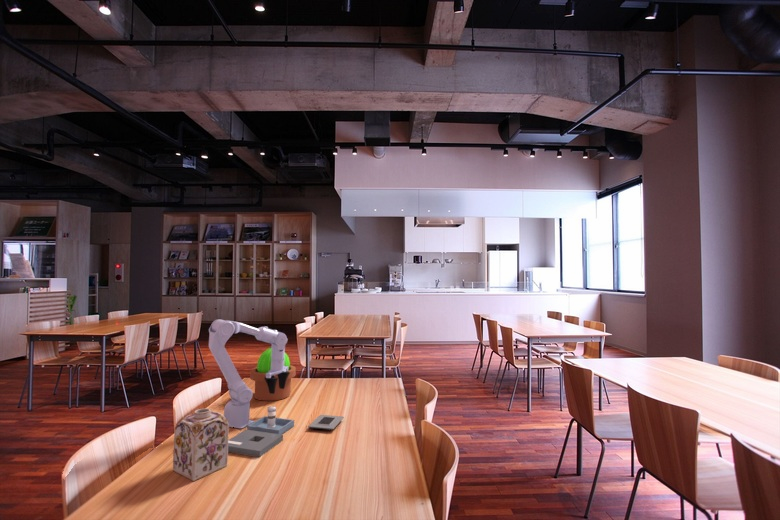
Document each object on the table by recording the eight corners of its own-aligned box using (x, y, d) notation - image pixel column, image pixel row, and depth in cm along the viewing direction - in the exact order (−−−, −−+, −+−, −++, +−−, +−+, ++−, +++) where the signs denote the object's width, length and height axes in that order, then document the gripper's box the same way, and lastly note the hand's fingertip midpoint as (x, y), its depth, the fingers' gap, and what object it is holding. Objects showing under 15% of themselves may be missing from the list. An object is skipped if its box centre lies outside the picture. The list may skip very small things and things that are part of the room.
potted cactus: (288, 403, 181) (289, 350, 182) (242, 402, 182) (244, 350, 183) (299, 389, 203) (300, 343, 204) (259, 389, 203) (260, 342, 205)
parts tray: (247, 432, 146) (247, 425, 146) (264, 422, 157) (264, 416, 157) (278, 437, 142) (278, 430, 143) (294, 426, 153) (294, 420, 153)
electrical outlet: (333, 434, 147) (333, 427, 147) (307, 431, 149) (308, 425, 149) (343, 421, 160) (343, 415, 160) (320, 419, 162) (320, 413, 162)
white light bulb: (265, 429, 149) (265, 408, 149) (270, 426, 152) (270, 405, 152) (272, 430, 148) (273, 409, 148) (277, 427, 151) (277, 406, 151)
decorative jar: (192, 482, 110) (195, 419, 111) (171, 471, 116) (173, 412, 117) (229, 465, 120) (231, 408, 121) (207, 456, 127) (209, 401, 127)
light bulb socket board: (219, 450, 131) (220, 444, 131) (246, 434, 144) (246, 428, 144) (259, 457, 126) (259, 450, 126) (282, 440, 140) (283, 434, 140)
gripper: (276, 363, 159) (275, 396, 158) (294, 357, 173) (293, 387, 172) (261, 362, 161) (261, 394, 160) (280, 355, 175) (280, 385, 174)
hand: (277, 390), depth 166 cm, fingers open, 7 cm apart
